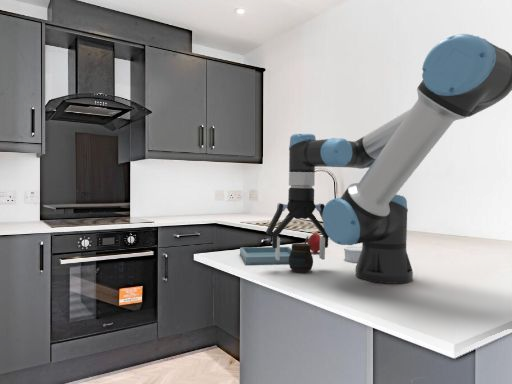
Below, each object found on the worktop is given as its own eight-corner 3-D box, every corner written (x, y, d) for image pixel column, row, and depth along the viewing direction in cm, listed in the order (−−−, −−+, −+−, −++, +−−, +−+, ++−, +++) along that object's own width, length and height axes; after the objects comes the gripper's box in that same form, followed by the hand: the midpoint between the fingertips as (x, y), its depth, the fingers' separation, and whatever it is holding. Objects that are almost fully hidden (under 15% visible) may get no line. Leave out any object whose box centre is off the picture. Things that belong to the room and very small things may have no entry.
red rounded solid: (318, 255, 142) (318, 232, 142) (304, 253, 146) (304, 231, 145) (325, 252, 147) (326, 231, 146) (312, 251, 150) (312, 230, 150)
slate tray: (301, 263, 127) (301, 255, 127) (246, 265, 124) (246, 257, 124) (288, 253, 145) (288, 246, 145) (240, 254, 142) (240, 247, 142)
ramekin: (372, 264, 128) (372, 250, 127) (343, 262, 129) (344, 249, 129) (369, 259, 136) (369, 246, 136) (343, 257, 138) (343, 245, 138)
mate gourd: (284, 272, 115) (284, 238, 115) (294, 267, 121) (294, 235, 121) (307, 275, 111) (308, 239, 111) (316, 270, 118) (316, 236, 118)
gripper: (337, 187, 121) (335, 255, 122) (257, 186, 118) (256, 256, 119) (346, 188, 114) (344, 261, 115) (261, 186, 110) (260, 262, 111)
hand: (299, 259), depth 117 cm, fingers open, 13 cm apart
